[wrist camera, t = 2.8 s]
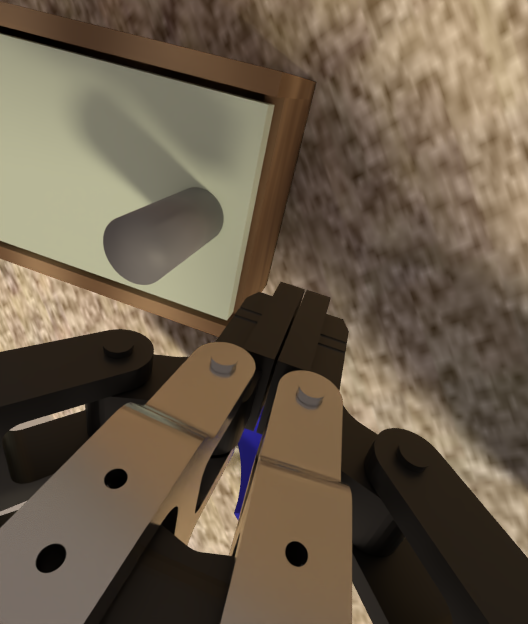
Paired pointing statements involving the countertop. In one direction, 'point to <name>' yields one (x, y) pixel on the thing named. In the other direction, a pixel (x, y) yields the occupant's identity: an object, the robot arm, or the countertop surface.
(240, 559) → the robot arm
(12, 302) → the countertop surface
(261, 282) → the walnut box
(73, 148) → the cover plate
